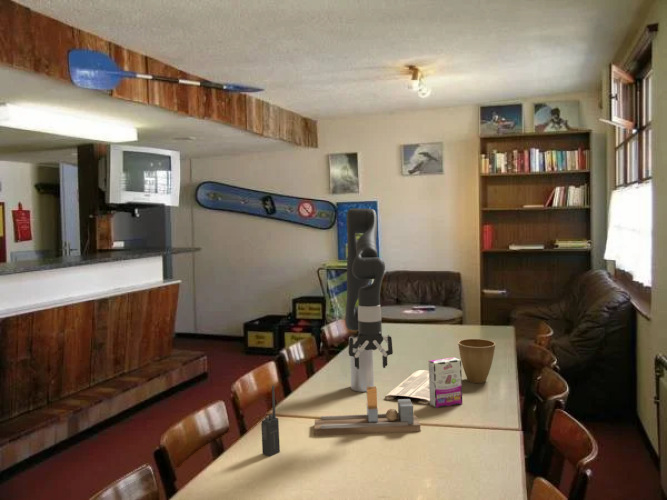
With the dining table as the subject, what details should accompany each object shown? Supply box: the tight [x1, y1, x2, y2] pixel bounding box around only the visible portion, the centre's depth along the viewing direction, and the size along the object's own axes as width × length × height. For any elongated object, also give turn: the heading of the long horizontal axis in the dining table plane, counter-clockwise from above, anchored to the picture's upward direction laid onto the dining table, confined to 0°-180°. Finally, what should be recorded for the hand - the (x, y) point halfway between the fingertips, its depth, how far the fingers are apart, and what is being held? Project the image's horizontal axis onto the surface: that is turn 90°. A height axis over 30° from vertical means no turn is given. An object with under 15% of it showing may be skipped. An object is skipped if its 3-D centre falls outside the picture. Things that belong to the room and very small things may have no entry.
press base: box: [314, 398, 421, 436], centre depth 189 cm, size 9×34×8 cm, turn 92°
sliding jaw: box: [366, 385, 379, 423], centre depth 189 cm, size 7×3×11 cm, turn 2°
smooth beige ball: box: [385, 408, 398, 421], centre depth 189 cm, size 4×4×4 cm
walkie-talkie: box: [260, 385, 281, 457], centre depth 171 cm, size 5×3×20 cm
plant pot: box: [457, 338, 496, 384], centre depth 238 cm, size 15×15×16 cm
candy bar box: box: [428, 357, 463, 409], centre depth 210 cm, size 11×5×16 cm, turn 108°
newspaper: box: [384, 369, 431, 405], centre depth 231 cm, size 37×19×3 cm, turn 154°
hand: (370, 367), depth 188 cm, fingers open, 8 cm apart
